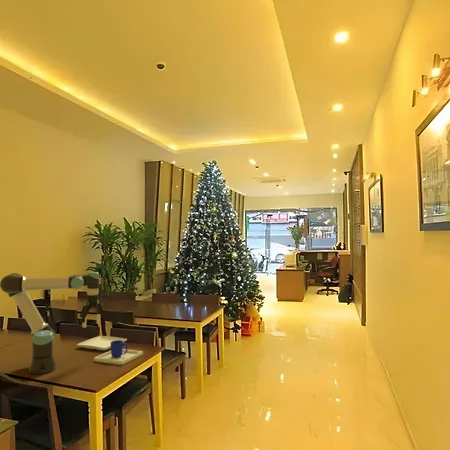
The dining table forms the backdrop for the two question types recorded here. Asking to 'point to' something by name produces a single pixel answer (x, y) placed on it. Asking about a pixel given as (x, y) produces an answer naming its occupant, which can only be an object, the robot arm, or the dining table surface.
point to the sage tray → (120, 360)
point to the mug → (117, 348)
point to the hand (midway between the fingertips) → (91, 325)
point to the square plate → (100, 342)
